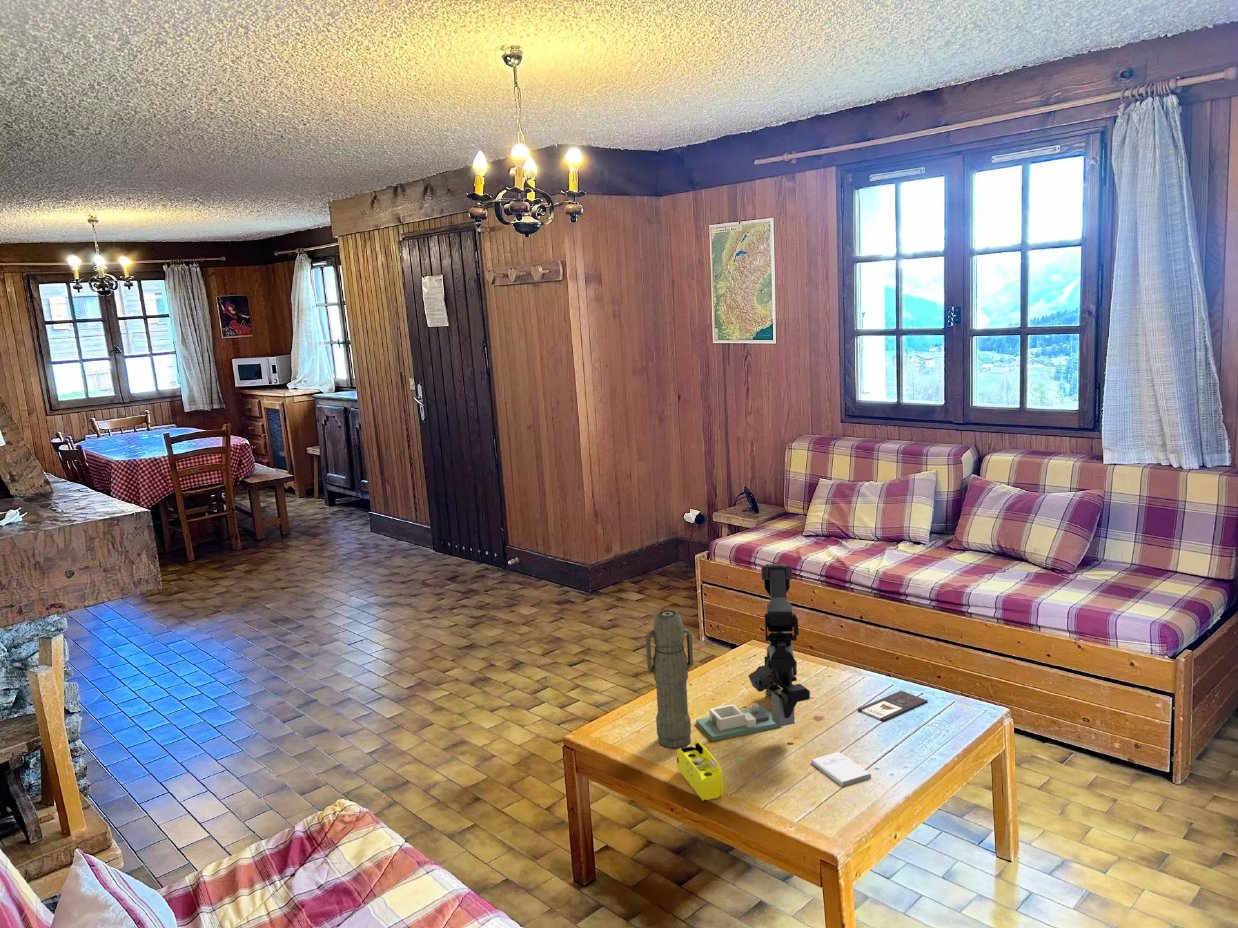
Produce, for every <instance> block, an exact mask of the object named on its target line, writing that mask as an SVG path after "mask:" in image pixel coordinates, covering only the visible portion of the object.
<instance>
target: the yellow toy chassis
mask: <svg viewBox="0 0 1238 928" xmlns="http://www.w3.org/2000/svg"><path fill="white" fill-rule="evenodd" d="M700 741H701V740H699V739H696V740H695V741H694V746H691V745H690V746H686V747H684V748H681V749H676V762H677V770H678V771H679V772H680V774H681V775H682V777H683V778H684V779H685V780H686V784H689V785H690V786H691V788H690V789H691V790H694V791H695V793H696V794H697V796H699V798H700V799H701V800H702V801H703V802H704V801H705V800H706V801H709V800H714V799H718V798H719V797H720V796H721V797H722V798H723V797H724V789H723V788H724V787H723V771H722V769H721V766H720V764H719V763H720V762H718V760H717V759H716V758H715V757H714V756H713V755H712V754H711V752H710V751H709V750H708V749H707V748H706V746H705V745H703V743H701V742H700Z"/></svg>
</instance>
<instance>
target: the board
mask: <svg viewBox="0 0 1238 928" xmlns="http://www.w3.org/2000/svg"><path fill="white" fill-rule="evenodd" d="M750 706H751V708H747V709H742V710H740V709H739V708H738V707H737V706H736V704H734V703H731V704H728V705H723V706H722V705H721V706H718V707H712V708H709V709H708V711H709V712H708V713H709V716H708V717H701V718H698V719H697V718H696V719H695V725H697V726H698V728H700V729H701V731H703V733H704V734H705V735H706V736H707V737H708V738H709V739H710V740H711V741H712V742H715V741H719V740H720V741H721V740H723V739H729V738H734V737H738V736H742V735H743V736H744V735H747V734H753V733H757V732H762V731H767V730H771V729H776V728H780V727H779V726H778V725H777V724H776V723H775V722H774V721H773V720H772V712H770V711H769V710H768V709H767V708H765V706H763V705H761V706H760V705H759V704H758V703H752V704H750Z"/></svg>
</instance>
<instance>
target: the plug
mask: <svg viewBox="0 0 1238 928" xmlns="http://www.w3.org/2000/svg"><path fill="white" fill-rule="evenodd" d="M781 690H782V689H778V690H774V691H771V696H770V698H771V714H772V720H773V721H774V722H775V723H776V724H777V725H778V726H779V727H778V728H781V727H785V726H790V725H795V723H796V721H795V708H794V709H793V711H792V714H791V716H790V717H789V718H785V715H784V709H783V703H782V699H780V698H779V697H778V696H777V695H780V694H781Z"/></svg>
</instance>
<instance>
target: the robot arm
mask: <svg viewBox="0 0 1238 928" xmlns="http://www.w3.org/2000/svg"><path fill="white" fill-rule="evenodd" d="M764 565H765V566H761V569H760V570H761V573H760V575H761V582H763V583H764V584H763V585H764V589H765V591H766V593H767V595H769V600H770V601H769V603H768V604H767V606H766V608H767V609H766V612H767V613H764V630H765V631H764V632H765V642H769V644H768V646H767V648H766V656H764V658H763V659H764V665H760V666H758V667H757V668H756V670H755V671H753V672H751V673H749V674H748V679H749V681H750V683H751V686H752V687H753V688H754V689H755V690H756V691H757V692H759V693H760V692H764V691H765V693H766V694H767V695H768V696H769V697H771V691H774V690H778V689H782V690H781V694H780V695H777V696H778V697H779V698H780V699H782V703H783V709H784V715H785V718H789V717H790V716H791V714H792V711H793V709H794V710H795V707H796V705H797V704H798V703H799V702H803V701H808V700H809V701H810V699H811V691H810V690H809V689H808V688H807V687H805V686H804V685H802V684H801V683H796V684H793V682H797V676H796V675H797V672H798V670H797V669H798V666H797V665H798V664H797V660H796V659H795V656H794V649H793V642H794V641H795V642H796V641H797V637H798V636H800V635H799V617H798V616H797V614H796V612H793V604H792V603H790V602H789V601H788V600H787V598H788V597H787V594H788V591H789V590H790V588H791V582H790V581H793V566H791V565H789V566H788V564H787V563H765V564H764ZM768 632H771V633H768ZM792 632H793V633H792Z"/></svg>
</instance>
